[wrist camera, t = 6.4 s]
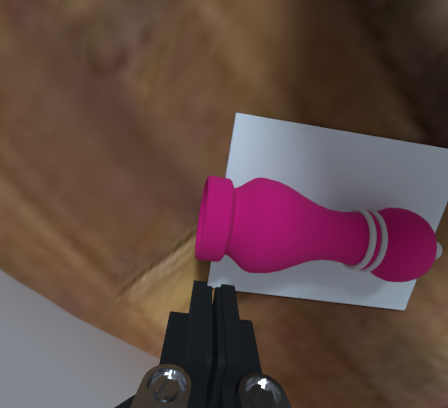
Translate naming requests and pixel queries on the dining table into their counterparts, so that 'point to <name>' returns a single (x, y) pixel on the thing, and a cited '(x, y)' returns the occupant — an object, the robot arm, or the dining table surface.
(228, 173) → the mat
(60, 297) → the dining table surface
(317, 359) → the dining table surface
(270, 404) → the robot arm
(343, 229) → the pepper mill
